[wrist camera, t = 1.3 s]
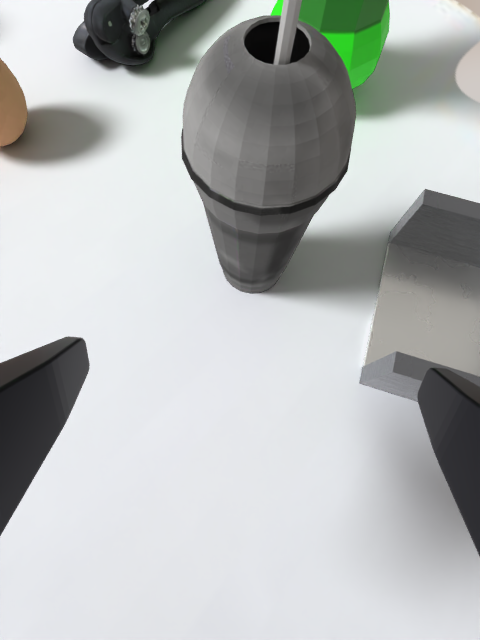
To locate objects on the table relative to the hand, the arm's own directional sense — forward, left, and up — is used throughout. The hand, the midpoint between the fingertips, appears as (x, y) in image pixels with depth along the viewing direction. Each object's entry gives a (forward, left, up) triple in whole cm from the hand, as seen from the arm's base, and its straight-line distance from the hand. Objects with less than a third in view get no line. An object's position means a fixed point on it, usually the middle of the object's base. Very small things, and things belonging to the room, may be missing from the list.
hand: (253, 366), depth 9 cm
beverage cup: (+8, -6, -14) cm, 17 cm away
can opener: (+34, -15, -14) cm, 40 cm away
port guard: (-4, -15, -14) cm, 21 cm away
